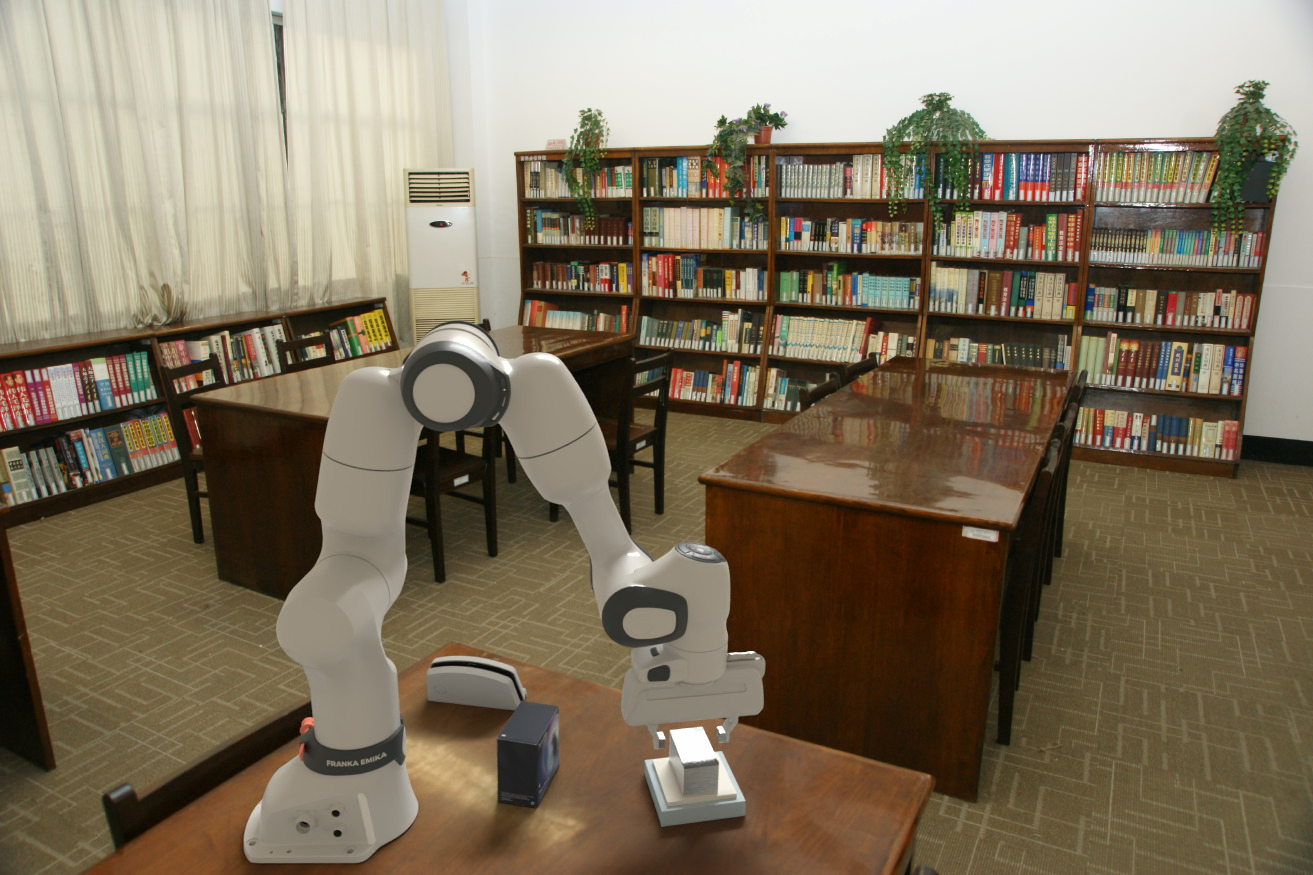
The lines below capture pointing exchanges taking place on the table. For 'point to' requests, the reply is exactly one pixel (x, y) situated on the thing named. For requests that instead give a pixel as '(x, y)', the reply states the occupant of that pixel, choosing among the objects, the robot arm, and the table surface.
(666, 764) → the stand
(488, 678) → the white slotted block
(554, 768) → the small box
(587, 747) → the table surface
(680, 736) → the block
